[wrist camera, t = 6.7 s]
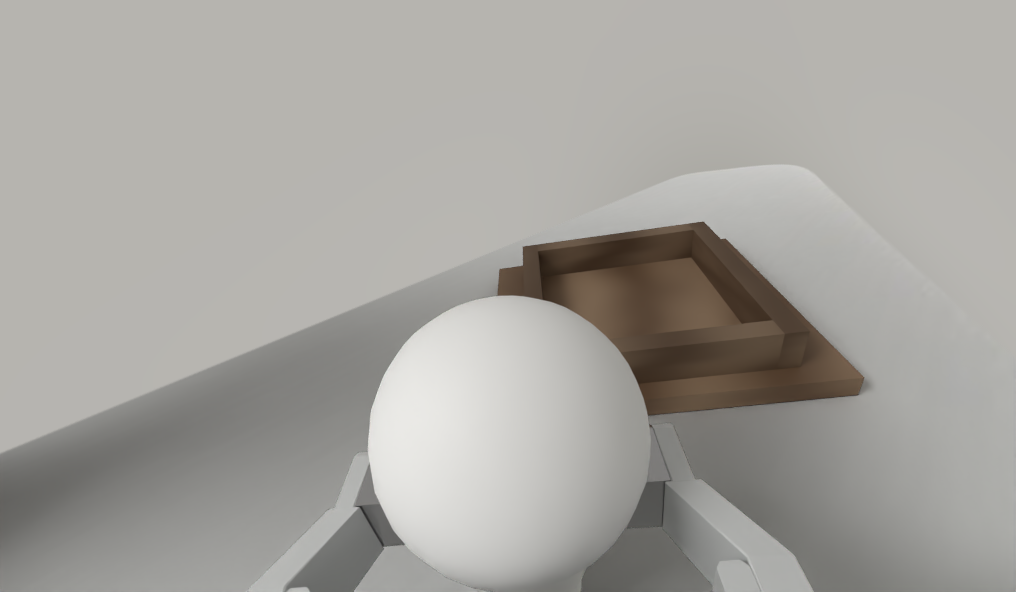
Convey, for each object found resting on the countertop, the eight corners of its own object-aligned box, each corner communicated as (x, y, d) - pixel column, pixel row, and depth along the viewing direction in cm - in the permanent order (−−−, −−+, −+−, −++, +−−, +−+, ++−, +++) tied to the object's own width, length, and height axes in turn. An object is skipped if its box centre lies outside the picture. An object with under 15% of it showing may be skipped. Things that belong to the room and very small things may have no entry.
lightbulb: (417, 686, 12) (240, 425, 7) (484, 494, 17) (415, 248, 11) (639, 763, 10) (657, 492, 5) (643, 523, 15) (655, 247, 10)
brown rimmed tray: (493, 430, 20) (480, 383, 18) (501, 280, 32) (494, 244, 30) (857, 394, 18) (878, 340, 17) (724, 251, 30) (728, 211, 29)
